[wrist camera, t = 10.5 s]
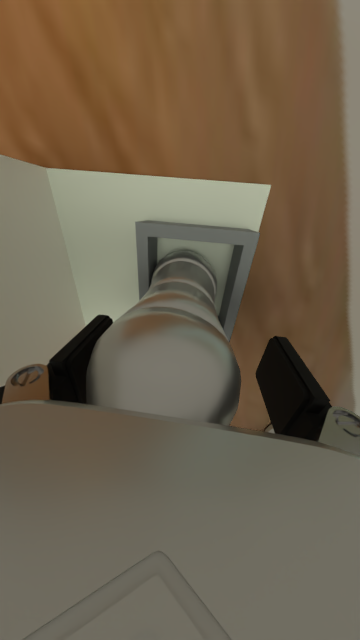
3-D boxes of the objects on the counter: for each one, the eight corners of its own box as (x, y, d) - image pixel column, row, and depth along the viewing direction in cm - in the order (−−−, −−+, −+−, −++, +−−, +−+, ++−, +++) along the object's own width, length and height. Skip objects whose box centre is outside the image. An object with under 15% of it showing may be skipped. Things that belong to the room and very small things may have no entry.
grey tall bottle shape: (180, 232, 18) (-219, 587, 1) (228, 274, 20) (412, 674, 3) (147, 279, 21) (-92, 572, 4) (191, 312, 23) (161, 617, 6)
